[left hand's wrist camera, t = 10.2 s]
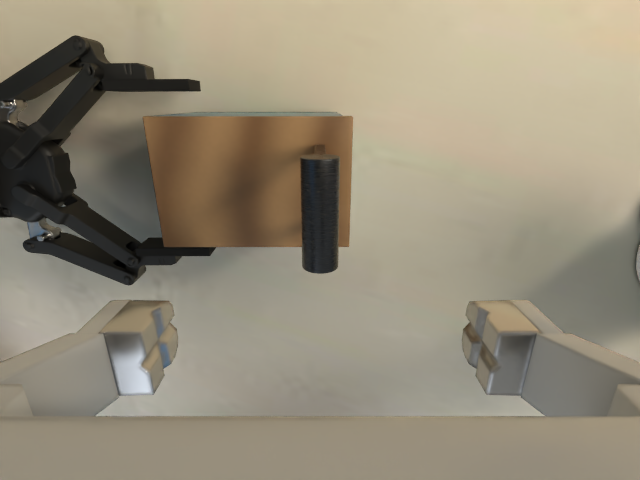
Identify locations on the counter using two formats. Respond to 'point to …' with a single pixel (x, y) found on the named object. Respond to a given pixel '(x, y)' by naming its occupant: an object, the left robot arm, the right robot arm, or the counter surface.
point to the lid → (254, 182)
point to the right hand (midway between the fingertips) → (205, 172)
